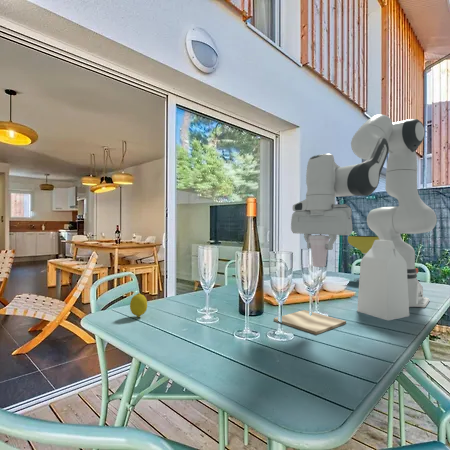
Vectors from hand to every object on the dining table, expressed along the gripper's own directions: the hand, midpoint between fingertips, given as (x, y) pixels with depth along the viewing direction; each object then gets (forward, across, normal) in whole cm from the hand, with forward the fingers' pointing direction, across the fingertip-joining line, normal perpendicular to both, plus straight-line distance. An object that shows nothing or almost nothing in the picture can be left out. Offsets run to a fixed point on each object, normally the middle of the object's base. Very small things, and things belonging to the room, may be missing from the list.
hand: (319, 248), depth 97 cm
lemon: (+24, +41, +42) cm, 63 cm away
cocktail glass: (+23, +28, -87) cm, 94 cm away
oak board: (+24, +3, +1) cm, 24 cm away
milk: (+24, -8, -28) cm, 37 cm away
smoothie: (+6, 0, 0) cm, 6 cm away
